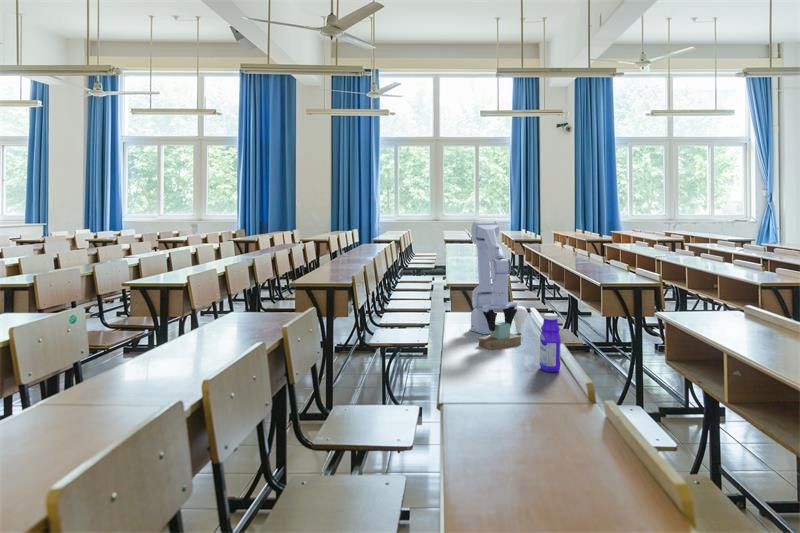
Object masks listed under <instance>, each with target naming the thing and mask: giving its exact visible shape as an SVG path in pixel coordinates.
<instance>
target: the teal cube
mask: <svg viewBox="0 0 800 533" xmlns="http://www.w3.org/2000/svg"><path fill="white" fill-rule="evenodd" d="M510 333H511V328H510V324H509V323H505V321H502V320H501V321H495V330H494V331H490V333H489V336H490V337H494V338H497V339H504V338H510Z"/></svg>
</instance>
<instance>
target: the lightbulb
mask: <svg viewBox="0 0 800 533" xmlns="http://www.w3.org/2000/svg"><path fill="white" fill-rule="evenodd" d="M515 309H517V312H516V314H515V316H514V318H513V321H514V325H515V326H514V327H515V332H516V333H517V334H522V333H523V330H524V324H525V322H526V319H527V318H528V313H529V312H528V310H527V309H526V307H525V306H522V305H517V308H515Z"/></svg>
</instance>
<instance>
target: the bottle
mask: <svg viewBox="0 0 800 533" xmlns="http://www.w3.org/2000/svg"><path fill="white" fill-rule="evenodd" d="M540 329H541V333H540V335H539V367H540V368H541V370H543V371H544V372H547V373H556V372H559V371H560V369H561V343H562V339H561V334H560V331H561V328H560V326H559V321H558V314H557V313H549V312H548V313H544V314H543V323H542V325H541V327H540Z"/></svg>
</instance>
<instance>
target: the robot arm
mask: <svg viewBox="0 0 800 533" xmlns="http://www.w3.org/2000/svg"><path fill="white" fill-rule="evenodd" d="M499 233H500V227H499V223H498V221H497V220H494V221H473V222H472V224H471V241H472V243H473V244H475V245H476V250H477V251H476V253H477V269H478V271H477V272H478V285H477V286H476V287H474V289H473V290H472V293H471V294H472V295H471V296H472V297H471V306H472V308H473V310H472V311H471V314H470V328H469V329H468V330H469V331H471V332H474V333H478V334H482V335H490V331H494V330H495V322H496V320H497V316H498V313H497V312H495V311H498V310H500V311H501V310H502V311H503V315H504V322H505V323H509V324H510V329H511V327H512V323H513V321H514V319H513V318H514V316H515V314H516V312H517V309H515V308H517V306H518V302H516V301H509V275H510V274H511V271H512V262H511V259H510V258H509V257H507V256H506V255H505V252H504V250H503V247H502V246H501V245H500V244H499V243H498V238H497V237H498V236H499ZM491 280H492V281H491Z"/></svg>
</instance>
